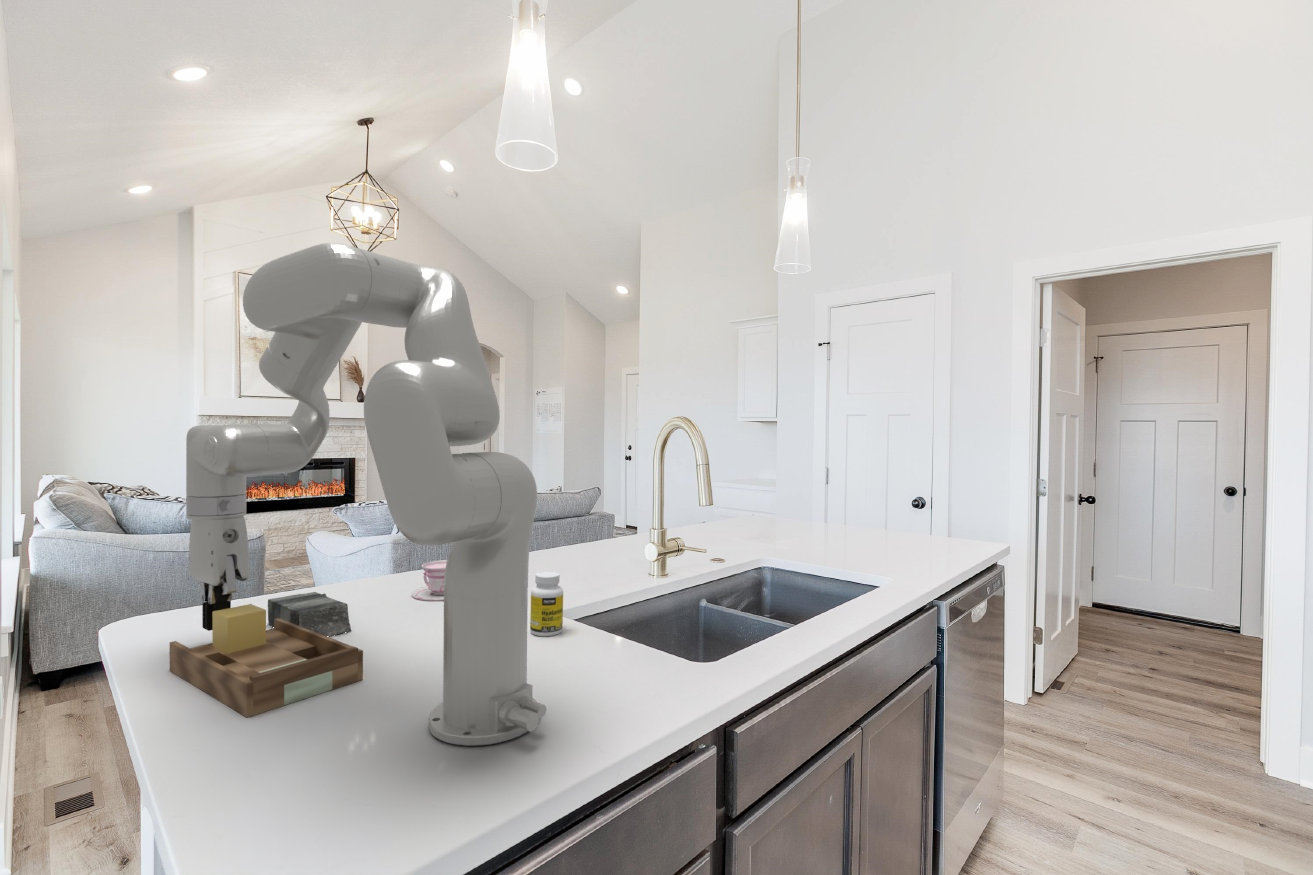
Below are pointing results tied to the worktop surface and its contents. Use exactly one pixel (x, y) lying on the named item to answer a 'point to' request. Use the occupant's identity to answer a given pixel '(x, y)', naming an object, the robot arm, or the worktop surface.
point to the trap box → (269, 668)
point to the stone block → (311, 613)
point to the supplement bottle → (546, 605)
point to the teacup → (432, 581)
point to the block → (239, 628)
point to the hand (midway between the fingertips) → (216, 627)
